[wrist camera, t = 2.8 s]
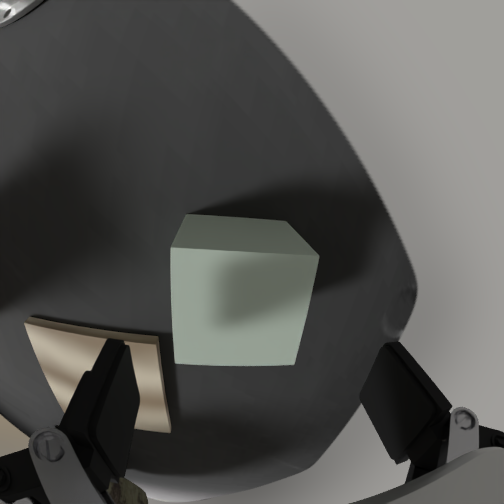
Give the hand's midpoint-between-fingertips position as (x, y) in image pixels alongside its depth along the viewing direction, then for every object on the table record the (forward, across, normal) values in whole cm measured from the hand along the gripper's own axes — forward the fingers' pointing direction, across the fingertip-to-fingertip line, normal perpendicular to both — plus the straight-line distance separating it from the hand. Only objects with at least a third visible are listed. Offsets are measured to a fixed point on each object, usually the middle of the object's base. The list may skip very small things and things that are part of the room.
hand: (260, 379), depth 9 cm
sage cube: (+9, +1, -1) cm, 9 cm away
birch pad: (+9, +12, +11) cm, 19 cm away
